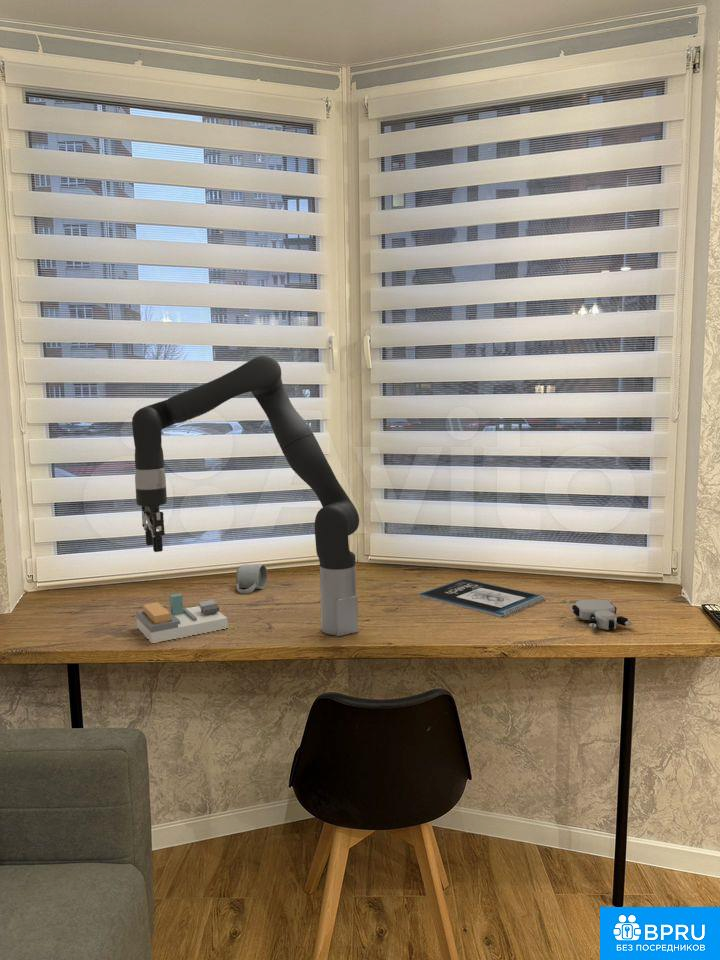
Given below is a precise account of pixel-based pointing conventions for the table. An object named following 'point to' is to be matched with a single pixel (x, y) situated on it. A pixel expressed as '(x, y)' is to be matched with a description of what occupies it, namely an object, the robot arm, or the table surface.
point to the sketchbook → (483, 597)
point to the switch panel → (181, 624)
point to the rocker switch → (208, 607)
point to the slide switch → (176, 604)
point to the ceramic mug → (251, 577)
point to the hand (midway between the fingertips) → (154, 548)
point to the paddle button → (156, 612)
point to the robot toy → (598, 613)
